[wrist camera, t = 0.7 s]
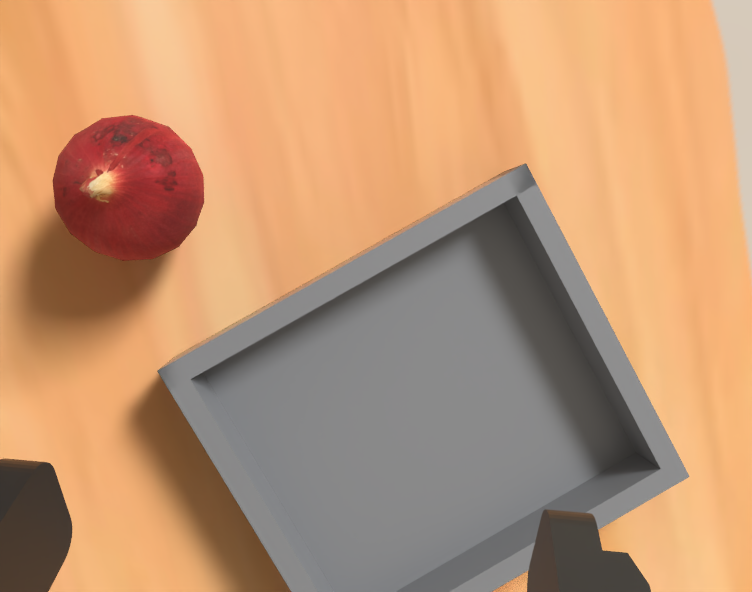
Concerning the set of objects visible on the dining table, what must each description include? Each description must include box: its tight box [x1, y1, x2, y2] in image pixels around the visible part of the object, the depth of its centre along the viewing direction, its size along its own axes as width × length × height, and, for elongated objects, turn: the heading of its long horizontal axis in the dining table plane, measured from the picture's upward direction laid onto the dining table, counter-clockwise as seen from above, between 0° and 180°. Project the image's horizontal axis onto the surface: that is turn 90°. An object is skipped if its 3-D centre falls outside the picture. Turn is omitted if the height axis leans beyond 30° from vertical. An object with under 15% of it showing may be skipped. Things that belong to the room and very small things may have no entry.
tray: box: [158, 164, 689, 592], centre depth 33 cm, size 16×18×4 cm
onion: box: [53, 115, 204, 261], centre depth 29 cm, size 6×6×8 cm
